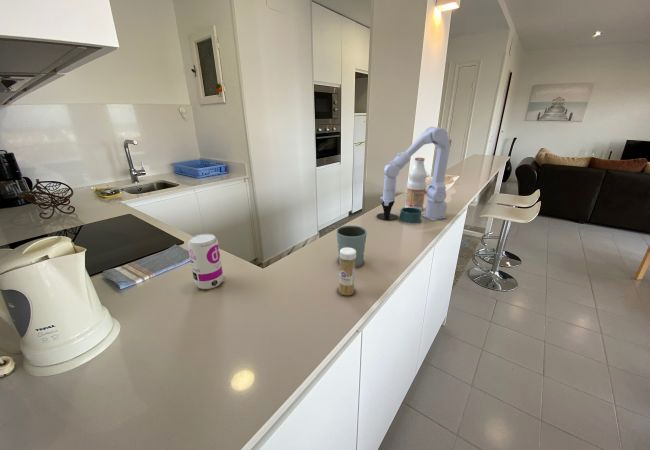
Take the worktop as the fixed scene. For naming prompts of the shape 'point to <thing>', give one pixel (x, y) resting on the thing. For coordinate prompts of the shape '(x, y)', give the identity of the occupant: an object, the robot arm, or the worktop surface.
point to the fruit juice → (416, 185)
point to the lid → (382, 217)
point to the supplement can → (205, 261)
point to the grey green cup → (352, 241)
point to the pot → (410, 215)
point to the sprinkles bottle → (347, 271)
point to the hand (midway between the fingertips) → (387, 215)
